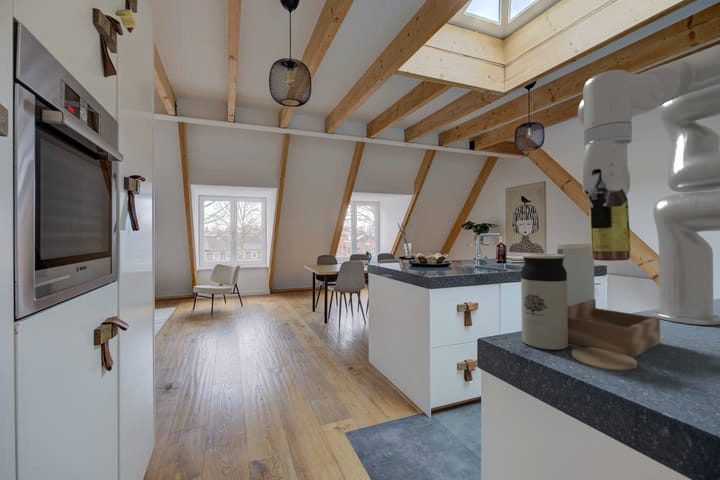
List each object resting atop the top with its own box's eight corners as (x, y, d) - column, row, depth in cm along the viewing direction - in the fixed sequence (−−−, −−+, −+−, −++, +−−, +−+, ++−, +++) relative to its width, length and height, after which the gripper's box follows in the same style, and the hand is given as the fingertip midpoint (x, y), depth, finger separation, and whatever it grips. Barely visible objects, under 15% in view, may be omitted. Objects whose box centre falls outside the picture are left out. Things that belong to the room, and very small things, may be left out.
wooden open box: (590, 328, 73) (590, 298, 73) (659, 342, 63) (659, 307, 63) (559, 340, 66) (559, 306, 66) (632, 358, 56) (631, 318, 56)
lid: (591, 328, 74) (590, 242, 73) (596, 329, 73) (595, 242, 73) (557, 340, 66) (556, 244, 66) (563, 342, 65) (561, 244, 65)
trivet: (585, 347, 62) (585, 344, 62) (645, 362, 54) (645, 358, 54) (562, 357, 57) (562, 354, 57) (624, 375, 49) (624, 371, 49)
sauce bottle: (638, 261, 60) (636, 155, 60) (601, 262, 61) (598, 158, 61) (617, 258, 66) (615, 163, 66) (584, 259, 68) (582, 165, 67)
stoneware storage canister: (542, 336, 69) (541, 253, 69) (577, 348, 61) (576, 254, 61) (513, 340, 66) (511, 254, 66) (546, 353, 59) (545, 256, 59)
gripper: (604, 147, 71) (605, 227, 72) (565, 137, 62) (567, 229, 62) (647, 138, 65) (649, 226, 65) (611, 125, 56) (613, 227, 56)
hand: (609, 227), depth 64 cm, fingers closed on sauce bottle, 6 cm apart
